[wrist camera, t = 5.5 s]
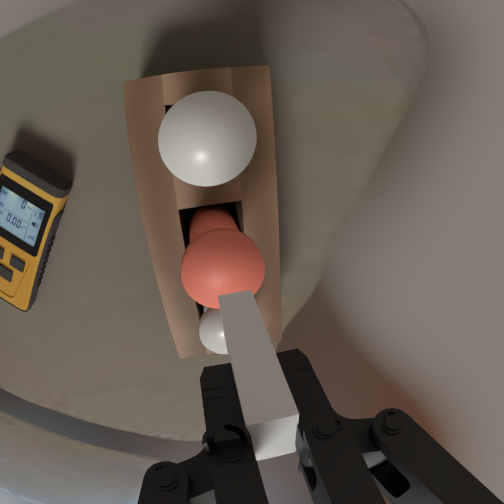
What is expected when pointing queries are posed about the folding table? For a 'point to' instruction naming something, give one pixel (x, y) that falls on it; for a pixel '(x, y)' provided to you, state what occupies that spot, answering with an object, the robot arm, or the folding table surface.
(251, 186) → the socket block
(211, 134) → the grey plug
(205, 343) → the grey plug
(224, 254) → the red plug
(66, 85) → the folding table surface
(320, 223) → the folding table surface
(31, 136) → the folding table surface
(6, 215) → the electronic device
